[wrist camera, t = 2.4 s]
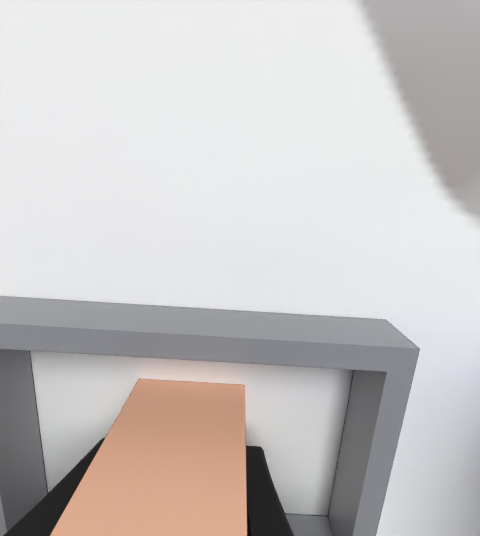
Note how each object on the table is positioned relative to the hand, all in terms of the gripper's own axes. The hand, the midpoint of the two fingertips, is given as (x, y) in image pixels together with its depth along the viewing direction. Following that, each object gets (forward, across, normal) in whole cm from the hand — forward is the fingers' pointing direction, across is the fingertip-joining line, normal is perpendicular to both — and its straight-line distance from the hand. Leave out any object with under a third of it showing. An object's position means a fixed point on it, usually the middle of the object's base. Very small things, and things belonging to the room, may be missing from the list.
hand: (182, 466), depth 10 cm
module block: (+2, 0, 0) cm, 2 cm away
